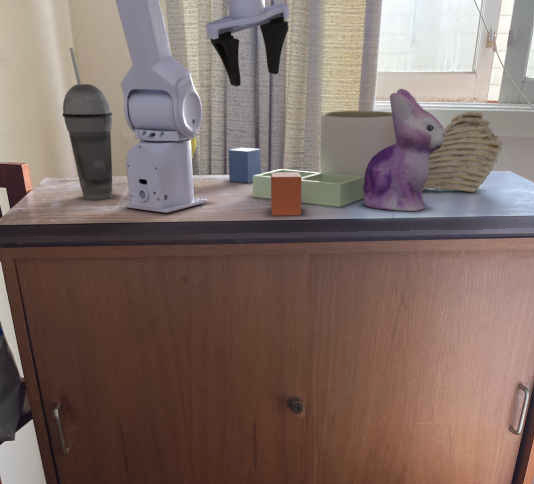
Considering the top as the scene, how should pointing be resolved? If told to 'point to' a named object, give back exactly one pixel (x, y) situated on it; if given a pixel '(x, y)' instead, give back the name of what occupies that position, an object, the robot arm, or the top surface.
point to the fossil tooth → (464, 154)
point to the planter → (353, 140)
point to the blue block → (244, 164)
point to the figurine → (403, 158)
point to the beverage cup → (90, 137)
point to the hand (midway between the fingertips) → (254, 79)
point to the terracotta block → (286, 193)
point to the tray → (316, 187)
